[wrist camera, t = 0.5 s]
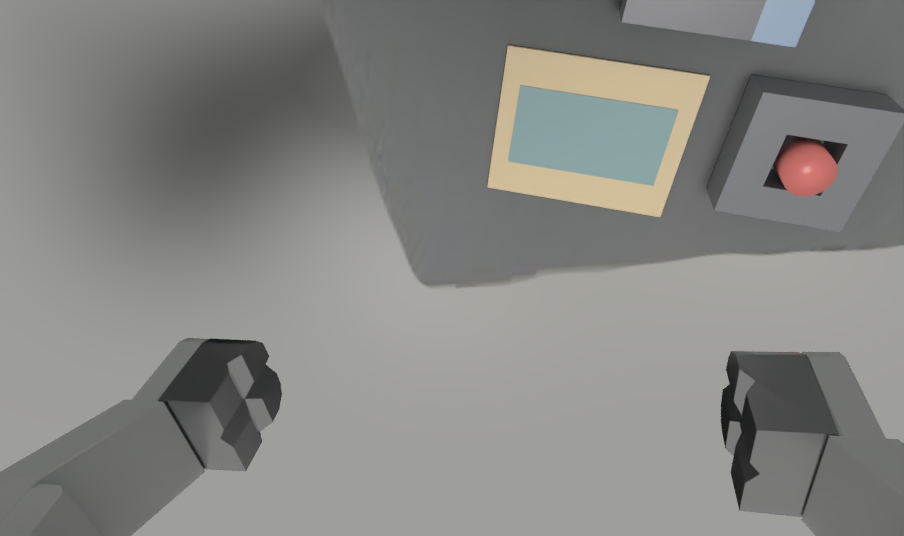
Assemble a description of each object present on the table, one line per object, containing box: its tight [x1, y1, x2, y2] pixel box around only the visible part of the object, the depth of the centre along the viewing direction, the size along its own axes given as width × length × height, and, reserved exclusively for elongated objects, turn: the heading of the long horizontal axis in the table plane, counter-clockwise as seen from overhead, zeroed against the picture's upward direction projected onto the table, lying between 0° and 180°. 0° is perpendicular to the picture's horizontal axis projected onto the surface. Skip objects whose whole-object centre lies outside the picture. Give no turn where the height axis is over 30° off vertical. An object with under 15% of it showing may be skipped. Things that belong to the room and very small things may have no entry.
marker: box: [620, 0, 815, 47], centre depth 42 cm, size 12×4×4 cm, turn 85°
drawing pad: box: [488, 45, 710, 217], centre depth 51 cm, size 13×16×1 cm
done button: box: [773, 135, 838, 196], centre depth 46 cm, size 4×4×4 cm
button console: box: [707, 75, 904, 232], centre depth 47 cm, size 10×10×4 cm
